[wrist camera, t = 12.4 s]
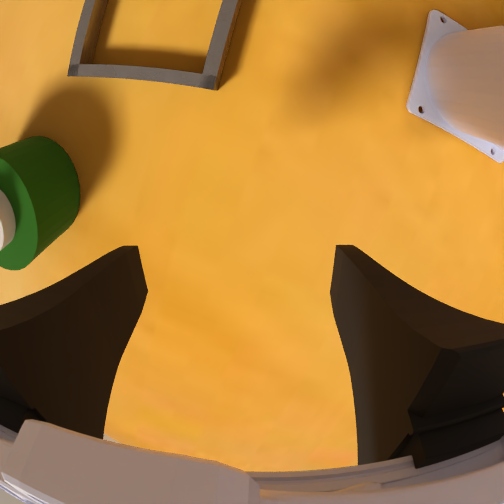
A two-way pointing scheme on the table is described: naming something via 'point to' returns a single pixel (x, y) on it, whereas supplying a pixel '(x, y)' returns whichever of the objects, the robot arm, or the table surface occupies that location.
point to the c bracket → (208, 80)
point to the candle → (34, 198)
